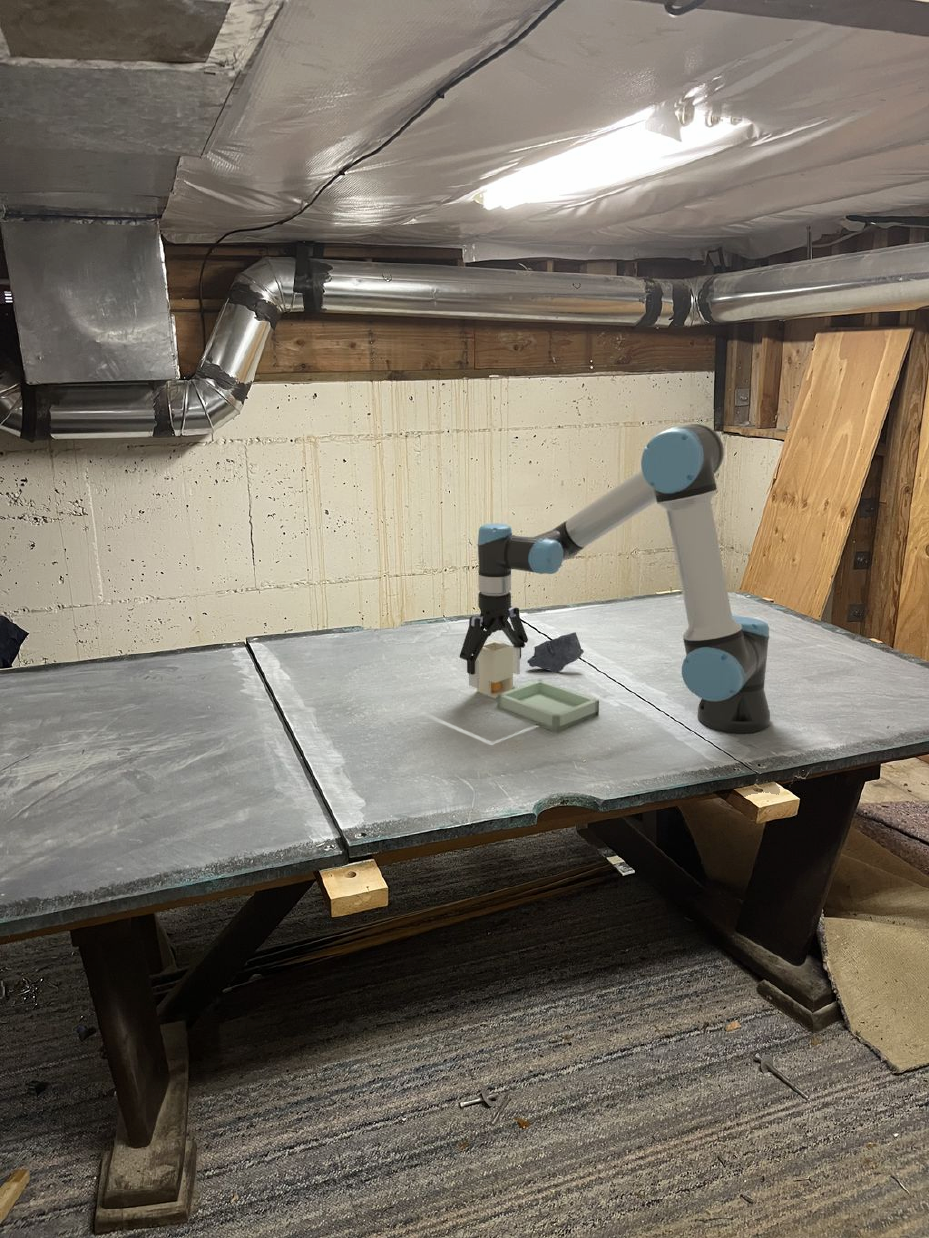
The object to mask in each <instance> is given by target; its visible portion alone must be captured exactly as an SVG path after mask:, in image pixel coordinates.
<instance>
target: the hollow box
mask: <svg viewBox="0 0 929 1238" xmlns="http://www.w3.org/2000/svg"><path fill="white" fill-rule="evenodd" d="M513 646H514V645H509V644H506V643H503V642H500V641H498V640H494V641H490V642H487V643H486V642H485V644H484V646H483V648H482V650H481V651H480V653H479V655H478V657H477V659H476V660H478V661H479V688H476V692H477V693H479V694H482V695H486V696H488V697H489V698H490V697H491V698H494V699H497V695H498V694H501V693H504V692H506V691H509V690H512V689H514V673H513ZM499 681H500V683H501V688H500V689H499V690H498V691H496V692H493V691H491V682H493V683H496V682H499Z"/></svg>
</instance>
